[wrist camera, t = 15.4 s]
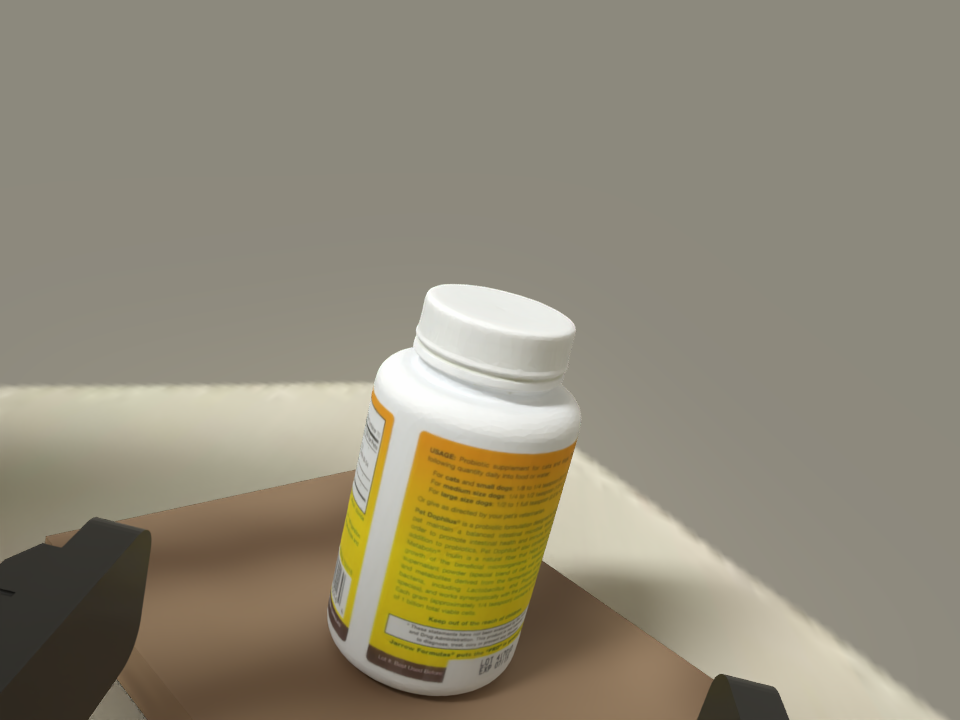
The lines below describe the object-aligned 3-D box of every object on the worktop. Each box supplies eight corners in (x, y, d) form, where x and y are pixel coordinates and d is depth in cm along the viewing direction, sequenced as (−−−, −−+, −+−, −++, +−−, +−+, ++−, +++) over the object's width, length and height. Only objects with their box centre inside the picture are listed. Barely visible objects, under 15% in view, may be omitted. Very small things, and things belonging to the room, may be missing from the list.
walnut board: (41, 579, 26) (45, 536, 26) (390, 492, 37) (397, 460, 36) (450, 1121, 15) (469, 1063, 15) (782, 780, 26) (800, 739, 25)
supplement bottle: (548, 665, 26) (651, 341, 23) (408, 737, 22) (509, 354, 19) (424, 566, 29) (498, 273, 26) (283, 612, 25) (350, 271, 22)
